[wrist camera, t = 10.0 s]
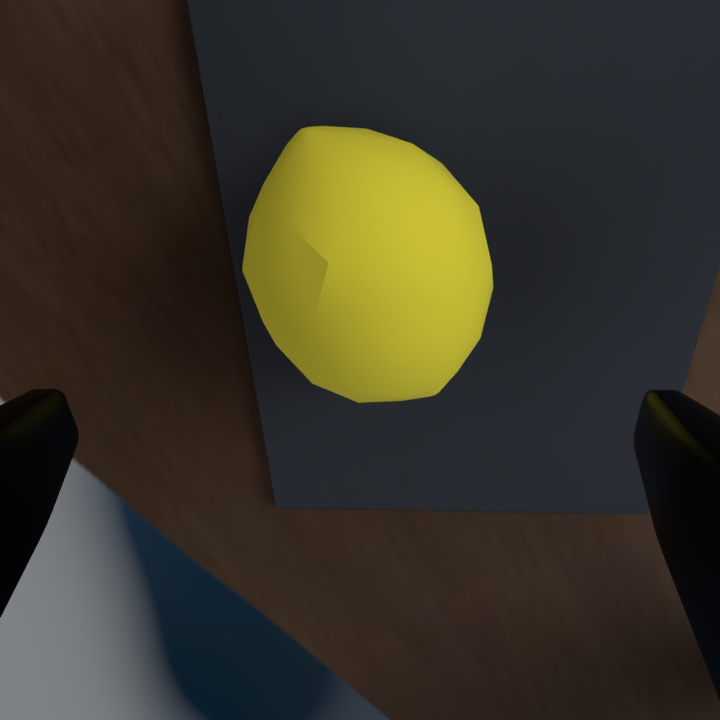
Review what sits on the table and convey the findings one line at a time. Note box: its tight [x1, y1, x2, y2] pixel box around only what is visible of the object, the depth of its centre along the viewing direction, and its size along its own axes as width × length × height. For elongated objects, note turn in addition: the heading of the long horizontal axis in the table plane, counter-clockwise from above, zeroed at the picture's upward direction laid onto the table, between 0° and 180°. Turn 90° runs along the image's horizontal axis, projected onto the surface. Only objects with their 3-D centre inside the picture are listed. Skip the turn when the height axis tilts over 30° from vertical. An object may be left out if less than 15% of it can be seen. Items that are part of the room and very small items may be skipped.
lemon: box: [242, 126, 493, 403], centre depth 14 cm, size 7×5×5 cm
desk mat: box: [187, 0, 720, 514], centre depth 16 cm, size 13×20×1 cm, turn 3°
